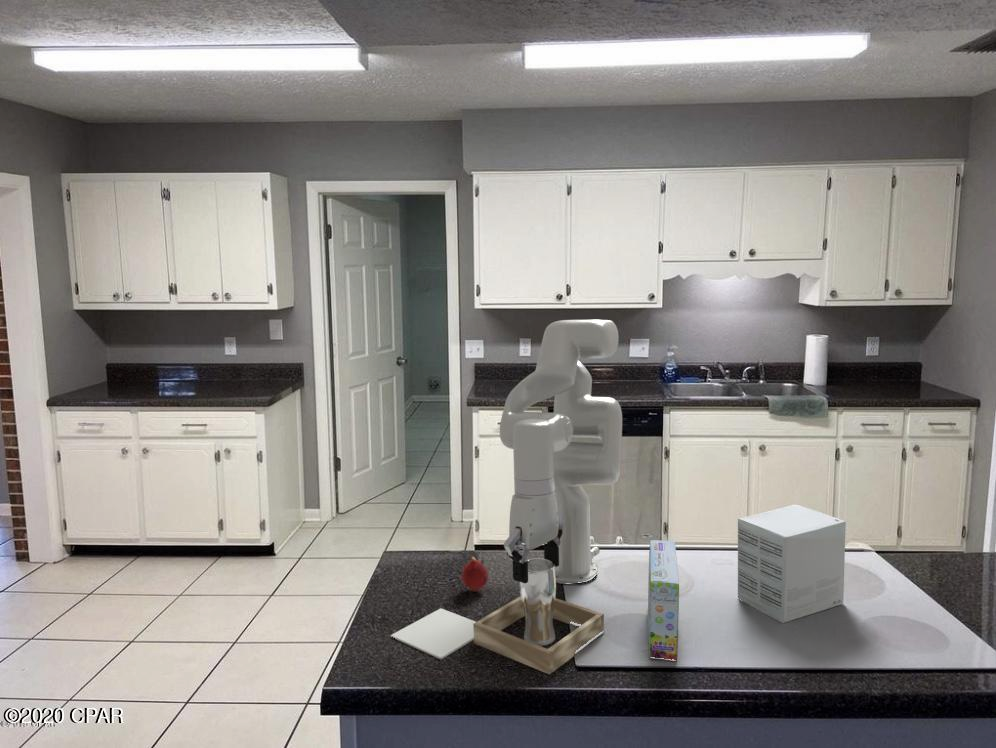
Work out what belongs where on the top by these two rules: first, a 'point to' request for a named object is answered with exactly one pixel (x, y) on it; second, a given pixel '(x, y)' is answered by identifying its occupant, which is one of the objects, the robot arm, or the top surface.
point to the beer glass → (539, 601)
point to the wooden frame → (532, 654)
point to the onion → (474, 575)
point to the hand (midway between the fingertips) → (536, 572)
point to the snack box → (663, 600)
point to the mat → (438, 633)
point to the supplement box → (791, 562)
